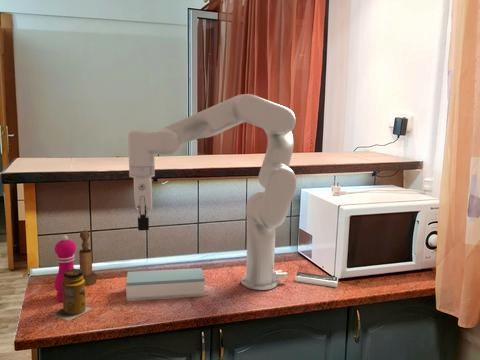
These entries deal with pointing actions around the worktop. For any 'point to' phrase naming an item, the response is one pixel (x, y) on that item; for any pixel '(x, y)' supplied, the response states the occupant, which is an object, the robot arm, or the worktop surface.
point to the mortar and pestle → (86, 260)
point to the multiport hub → (316, 279)
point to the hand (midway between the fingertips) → (143, 229)
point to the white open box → (165, 290)
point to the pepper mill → (63, 262)
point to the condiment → (72, 295)
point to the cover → (164, 276)
